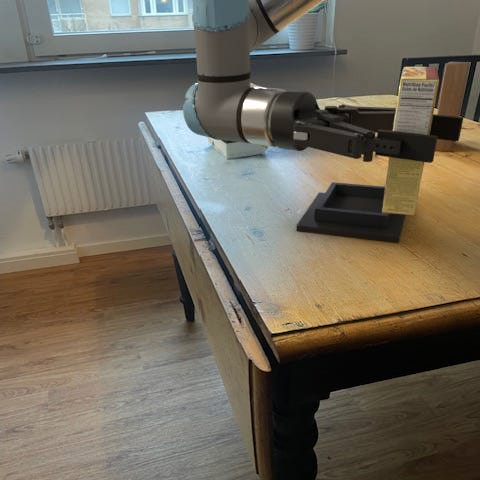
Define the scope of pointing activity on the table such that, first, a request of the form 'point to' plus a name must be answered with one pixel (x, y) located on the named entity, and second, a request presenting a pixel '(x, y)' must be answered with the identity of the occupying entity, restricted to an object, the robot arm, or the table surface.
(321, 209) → the dock pad
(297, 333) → the table surface
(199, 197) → the table surface
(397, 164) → the candy box
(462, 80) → the wooden block
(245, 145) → the tea box
